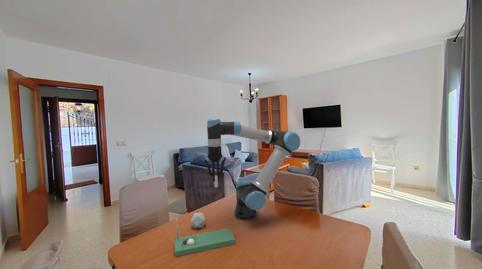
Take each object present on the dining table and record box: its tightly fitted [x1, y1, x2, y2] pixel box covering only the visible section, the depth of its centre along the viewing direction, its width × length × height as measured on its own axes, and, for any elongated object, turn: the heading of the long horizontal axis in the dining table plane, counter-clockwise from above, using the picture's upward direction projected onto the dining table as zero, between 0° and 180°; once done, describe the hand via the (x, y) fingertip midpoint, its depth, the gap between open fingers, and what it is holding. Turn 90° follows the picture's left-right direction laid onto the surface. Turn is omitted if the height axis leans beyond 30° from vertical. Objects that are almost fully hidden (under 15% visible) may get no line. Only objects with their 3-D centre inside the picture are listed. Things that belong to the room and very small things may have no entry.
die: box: [190, 212, 207, 229], centre depth 127 cm, size 8×9×10 cm
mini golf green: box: [174, 217, 236, 258], centre depth 109 cm, size 30×12×14 cm, turn 108°
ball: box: [186, 239, 195, 246], centre depth 107 cm, size 4×4×4 cm
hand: (216, 186), depth 120 cm, fingers closed
